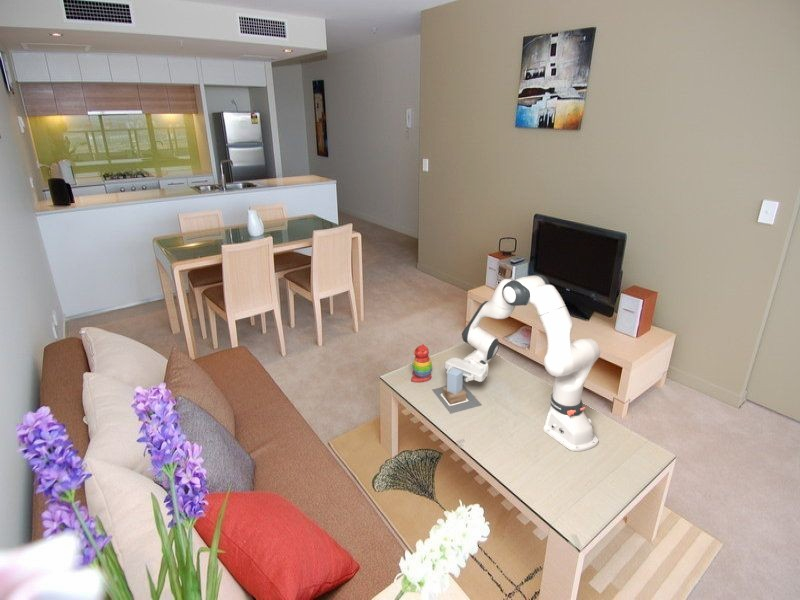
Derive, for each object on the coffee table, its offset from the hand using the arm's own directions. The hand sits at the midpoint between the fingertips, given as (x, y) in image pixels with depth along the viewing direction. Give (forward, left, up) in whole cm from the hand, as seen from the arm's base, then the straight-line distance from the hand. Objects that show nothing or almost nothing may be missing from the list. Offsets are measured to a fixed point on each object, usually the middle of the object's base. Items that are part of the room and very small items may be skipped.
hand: (456, 376), depth 211 cm
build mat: (-1, 0, -11) cm, 11 cm away
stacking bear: (+21, +8, -11) cm, 25 cm away
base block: (-1, +1, -11) cm, 11 cm away
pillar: (-1, +1, -7) cm, 7 cm away
